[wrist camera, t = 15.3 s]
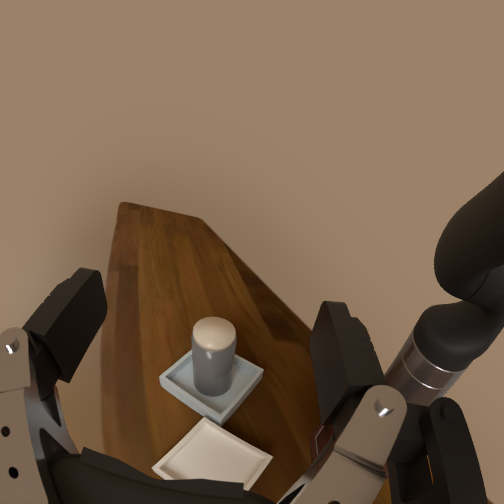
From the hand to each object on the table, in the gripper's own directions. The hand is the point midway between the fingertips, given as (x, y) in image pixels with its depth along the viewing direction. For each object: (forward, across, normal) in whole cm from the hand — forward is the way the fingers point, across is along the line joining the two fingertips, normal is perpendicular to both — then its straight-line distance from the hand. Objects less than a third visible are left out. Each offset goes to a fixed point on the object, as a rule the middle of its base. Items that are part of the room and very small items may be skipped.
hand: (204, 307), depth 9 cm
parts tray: (+3, 0, +30) cm, 30 cm away
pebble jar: (+17, +1, +29) cm, 34 cm away
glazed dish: (+17, +1, +30) cm, 35 cm away
